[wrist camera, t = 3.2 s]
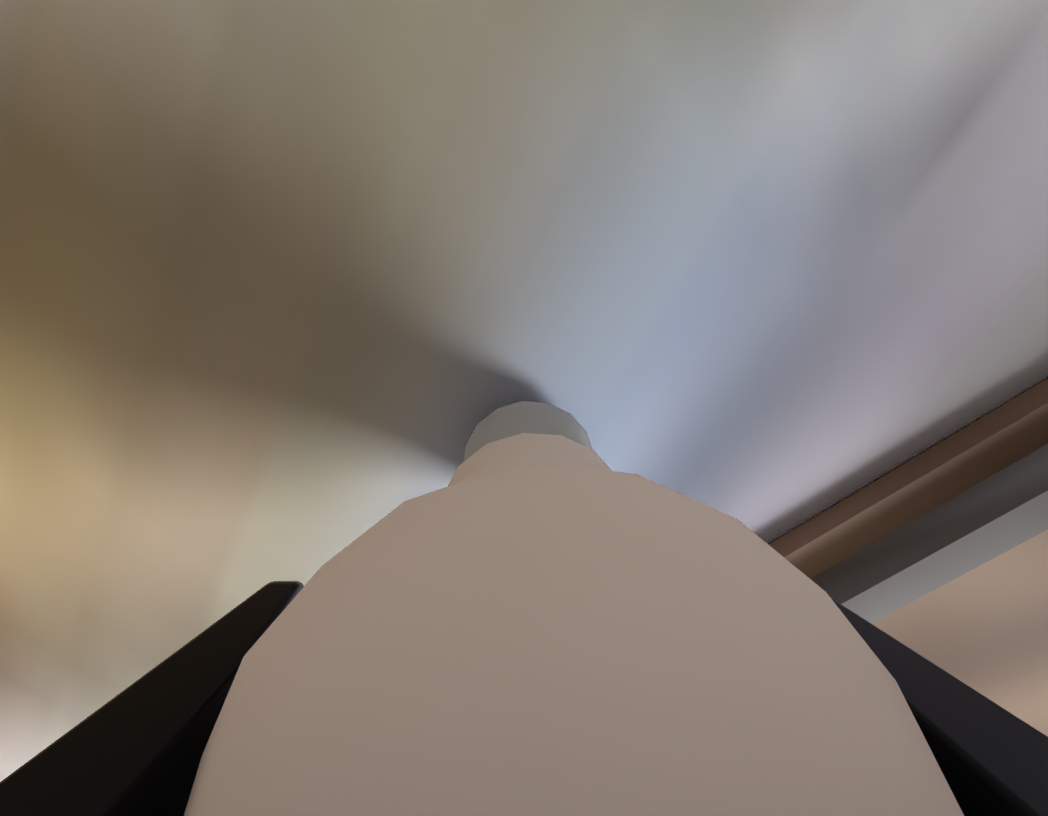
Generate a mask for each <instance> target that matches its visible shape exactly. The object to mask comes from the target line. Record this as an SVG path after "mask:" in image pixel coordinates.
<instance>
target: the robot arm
mask: <svg viewBox="0 0 1048 816" xmlns="http://www.w3.org/2000/svg"><path fill="white" fill-rule="evenodd" d="M303 587H304V586H303V584H302V583H300V582H298V581H274V582H270V583H268V584H267V585H265V586H264V587H262V588H261V589H260V590H258V591H257V592H256V593H254V594H253V595H252V596H250V597H249V598H248V599H246V600H245V601H244V602H242V603H241V604H240V605H238V606H237V607H236V608H234V609H233V610H231V611H230V612H229V613H227V614H226V615H225V616H223V617H222V618H221V619H219V620H218V621H217V622H215V623H214V624H213V625H211V626H210V627H209V628H207V629H206V630H205V631H203V632H202V633H201V634H199V635H198V636H196V637H195V638H194V639H192V640H191V641H190V642H188V643H187V644H186V645H184V646H183V647H182V648H180V649H179V650H178V651H176V652H175V653H174V654H172V655H171V656H170V657H168V658H167V659H166V660H164V661H163V662H161V663H160V664H159V665H157V666H156V667H155V668H153V669H152V670H151V671H149V672H148V673H147V674H145V675H144V676H143V677H141V678H140V679H139V680H137V681H136V682H135V683H133V684H132V685H130V686H129V687H128V688H126V689H125V690H124V691H122V692H121V693H120V694H118V695H117V696H116V697H114V698H113V699H112V700H110V701H109V702H108V703H106V704H105V705H104V706H102V707H101V708H100V709H98V710H97V711H95V712H94V713H93V714H91V715H90V716H89V717H87V718H86V719H85V720H83V721H82V722H81V723H79V724H78V725H77V726H75V727H74V728H73V729H71V730H70V731H69V732H67V733H66V734H65V735H63V736H62V737H60V738H59V739H58V740H56V741H55V742H54V743H52V744H51V745H50V746H48V747H47V748H46V749H44V750H43V751H42V752H40V753H39V754H38V755H36V756H35V757H34V758H32V759H31V760H30V761H28V762H27V763H25V764H24V765H23V766H21V767H20V768H19V769H17V770H16V771H15V772H13V773H12V774H11V775H9V776H8V777H7V778H5V779H4V780H3V781H1V782H0V816H184V813H185V810H186V806H187V803H188V800H189V796H190V793H191V790H192V786H193V783H194V780H195V777H196V773H197V770H198V767H199V763H200V760H201V757H202V754H203V752H204V750H205V747H206V745H207V742H208V740H209V738H210V735H211V733H212V731H213V728H214V726H215V723H216V721H217V719H218V716H219V714H220V712H221V709H222V707H223V704H224V702H225V700H226V697H227V695H228V692H229V690H230V688H231V685H232V683H233V681H234V678H235V676H236V673H237V671H238V669H239V666H240V664H241V661H242V659H243V657H244V655H245V654H246V653H247V652H248V651H249V650H250V648H251V647H252V646H253V645H254V644H255V643H256V642H257V640H258V639H259V638H260V637H261V636H262V635H263V633H264V632H265V631H266V630H267V629H268V628H269V627H270V625H271V624H272V623H273V622H274V621H275V620H276V618H277V617H278V616H279V615H280V614H281V613H282V612H283V610H284V609H285V608H286V607H287V606H288V605H289V603H290V602H291V601H292V600H293V599H294V598H295V597H296V595H297V594H298V593H299V592H300V591H301V590H302V588H303ZM830 598H831V597H830ZM831 599H832V598H831ZM832 600H833V602H834V603H835V604H836V605H837V607H838V608H839V609H840V610H841V612H842V613H843V614H844V616H845V617H846V618H847V619H848V621H849V622H850V623H851V624H852V626H853V627H854V628H855V630H856V631H857V632H858V633H859V635H860V636H861V637H862V638H863V640H864V641H865V642H866V643H867V645H868V646H869V647H870V649H871V650H872V651H873V652H874V654H875V655H876V656H877V657H878V659H879V660H880V661H881V663H882V664H883V665H884V666H885V668H886V669H887V670H888V671H889V673H890V674H891V675H892V677H893V678H894V679H895V680H896V682H897V684H898V686H899V688H900V690H901V692H902V694H903V696H904V698H905V700H906V702H907V704H908V706H909V708H910V710H911V712H912V713H913V715H914V717H915V719H916V721H917V723H918V725H919V727H920V729H921V731H922V733H923V735H924V737H925V739H926V741H927V743H928V745H929V747H930V749H931V751H932V753H933V755H934V757H935V759H936V761H937V763H938V765H939V767H940V769H941V771H942V773H943V775H944V777H945V779H946V781H947V783H948V785H949V787H950V789H951V791H952V793H953V795H954V797H955V799H956V801H957V803H958V805H959V807H960V809H961V811H962V813H963V815H964V816H1048V737H1047V736H1046V735H1044V734H1043V733H1041V732H1040V731H1038V730H1036V729H1035V728H1033V727H1032V726H1030V725H1029V724H1027V723H1026V722H1024V721H1022V720H1021V719H1019V718H1018V717H1016V716H1015V715H1013V714H1011V713H1010V712H1008V711H1007V710H1005V709H1004V708H1002V707H1001V706H999V705H997V704H996V703H994V702H993V701H991V700H990V699H988V698H987V697H985V696H983V695H982V694H980V693H979V692H977V691H976V690H974V689H972V688H971V687H969V686H968V685H966V684H965V683H963V682H962V681H960V680H958V679H957V678H955V677H954V676H952V675H951V674H949V673H948V672H946V671H944V670H943V669H941V668H940V667H938V666H937V665H935V664H933V663H932V662H930V661H929V660H927V659H926V658H924V657H923V656H921V655H919V654H918V653H916V652H915V651H913V650H912V649H910V648H909V647H907V646H905V645H904V644H902V643H901V642H899V641H898V640H896V639H894V638H893V637H891V636H890V635H888V634H887V633H885V632H884V631H882V630H880V629H879V628H877V627H876V626H874V625H873V624H871V623H870V622H868V621H866V620H865V619H863V618H862V617H860V616H859V615H857V614H856V613H854V612H852V611H851V610H849V609H848V608H846V607H845V606H843V605H841V604H840V603H838V602H837V601H835V600H834V599H832Z"/></svg>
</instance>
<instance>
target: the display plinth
mask: <svg viewBox="0 0 1048 816" xmlns="http://www.w3.org/2000/svg"><path fill="white" fill-rule="evenodd" d="M768 545H769V546H771V547H772V548H773V549H774V550H776V551H777V552H778V553H779V554H780V555H782V556H783V557H784V558H785V559H786V560H788V561H789V562H790V563H791V564H793V565H794V566H795V567H796V568H797V569H799V570H800V571H801V572H802V573H804V574H805V575H806V576H807V577H808V578H810V579H811V580H812V581H813V582H815V583H816V584H817V585H818V586H819V587H821V588H822V589H823V590H824V591H825V592H826V593H827V594H828V595H829V597H831V598H832V599H834V600H835V601H837V602H838V603H840V604H841V605H843V606H845V607H846V608H848V609H849V610H851V611H852V612H854V613H856V614H857V615H859V616H860V617H862V618H863V619H865V620H866V621H868V622H870V623H871V624H873V625H874V626H876V627H877V628H879V629H880V630H882V631H884V632H885V633H887V634H888V635H890V636H891V637H893V638H894V639H896V640H898V641H899V642H901V643H902V644H904V645H905V646H907V647H909V648H910V649H912V650H913V651H915V652H916V653H918V654H919V655H921V656H923V657H924V658H926V659H927V660H929V661H930V662H932V663H933V664H935V665H937V666H938V667H940V668H941V669H943V670H944V671H946V672H948V673H949V674H951V675H952V676H954V677H955V678H957V679H958V680H960V681H962V682H963V683H965V684H966V685H968V686H969V687H971V688H972V689H974V690H976V691H977V692H979V693H980V694H982V695H983V696H985V697H987V698H988V699H990V700H991V701H993V702H994V703H996V704H997V705H999V706H1001V707H1002V708H1004V709H1005V710H1007V711H1008V712H1010V713H1011V714H1013V715H1015V716H1016V717H1018V718H1019V719H1021V720H1022V721H1024V722H1026V723H1027V724H1029V725H1030V726H1032V727H1033V728H1035V729H1036V730H1038V731H1040V732H1041V733H1043V734H1044V735H1046V736H1047V737H1048V378H1047V379H1045V380H1044V381H1042V382H1040V383H1039V384H1037V385H1035V386H1034V387H1032V388H1030V389H1029V390H1027V391H1025V392H1024V393H1022V394H1020V395H1019V396H1017V397H1015V398H1014V399H1012V400H1010V401H1008V402H1007V403H1005V404H1003V405H1002V406H1000V407H998V408H997V409H995V410H993V411H992V412H990V413H988V414H987V415H985V416H983V417H982V418H980V419H978V420H977V421H975V422H973V423H972V424H970V425H968V426H967V427H965V428H963V429H962V430H960V431H958V432H956V433H955V434H953V435H951V436H950V437H948V438H946V439H945V440H943V441H941V442H940V443H938V444H936V445H935V446H933V447H931V448H930V449H928V450H926V451H925V452H923V453H921V454H920V455H918V456H916V457H915V458H913V459H911V460H909V461H908V462H906V463H904V464H903V465H901V466H899V467H898V468H896V469H894V470H893V471H891V472H889V473H888V474H886V475H884V476H883V477H881V478H879V479H878V480H876V481H874V482H873V483H871V484H869V485H868V486H866V487H864V488H862V489H861V490H859V491H857V492H856V493H854V494H852V495H851V496H849V497H847V498H846V499H844V500H842V501H841V502H839V503H837V504H836V505H834V506H832V507H831V508H829V509H827V510H826V511H824V512H822V513H821V514H819V515H817V516H815V517H814V518H812V519H810V520H809V521H807V522H805V523H804V524H802V525H800V526H799V527H797V528H795V529H794V530H792V531H790V532H789V533H787V534H785V535H784V536H782V537H780V538H779V539H777V540H775V541H774V542H772V543H770V544H768Z"/></svg>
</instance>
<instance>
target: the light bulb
mask: <svg viewBox="0 0 1048 816" xmlns="http://www.w3.org/2000/svg"><path fill="white" fill-rule="evenodd" d="M184 816H964V815H963V813H962V811H961V809H960V807H959V805H958V803H957V801H956V799H955V797H954V795H953V793H952V791H951V789H950V787H949V785H948V783H947V781H946V779H945V777H944V775H943V773H942V771H941V769H940V767H939V765H938V763H937V761H936V759H935V757H934V755H933V753H932V751H931V749H930V747H929V745H928V743H927V741H926V739H925V737H924V735H923V733H922V731H921V729H920V727H919V725H918V723H917V721H916V719H915V717H914V715H913V713H912V712H911V710H910V708H909V706H908V704H907V702H906V700H905V698H904V696H903V694H902V692H901V690H900V688H899V686H898V684H897V682H896V680H895V679H894V678H893V677H892V675H891V674H890V673H889V671H888V670H887V669H886V668H885V666H884V665H883V664H882V663H881V661H880V660H879V659H878V657H877V656H876V655H875V654H874V652H873V651H872V650H871V649H870V647H869V646H868V645H867V643H866V642H865V641H864V640H863V638H862V637H861V636H860V635H859V633H858V632H857V631H856V630H855V628H854V627H853V626H852V624H851V623H850V622H849V621H848V619H847V618H846V617H845V616H844V614H843V613H842V612H841V610H840V609H839V608H838V607H837V605H836V604H835V603H834V602H833V600H832V599H831V598H830V597H829V595H828V594H827V593H826V592H825V591H824V590H823V589H822V588H821V587H819V586H818V585H817V584H816V583H815V582H813V581H812V580H811V579H810V578H808V577H807V576H806V575H805V574H804V573H802V572H801V571H800V570H799V569H797V568H796V567H795V566H794V565H793V564H791V563H790V562H789V561H788V560H786V559H785V558H784V557H783V556H782V555H780V554H779V553H778V552H777V551H776V550H774V549H773V548H772V547H771V546H769V545H768V544H767V543H766V542H765V541H763V540H762V539H761V538H760V537H758V536H757V535H756V534H755V533H754V532H752V531H751V530H750V529H749V528H747V527H746V526H745V525H744V524H743V523H741V522H740V521H739V520H738V519H736V518H734V517H731V516H729V515H727V514H725V513H722V512H720V511H718V510H716V509H713V508H711V507H709V506H707V505H704V504H702V503H700V502H698V501H696V500H693V499H691V498H689V497H687V496H684V495H682V494H680V493H678V492H675V491H673V490H671V489H669V488H666V487H664V486H662V485H660V484H657V483H655V482H653V481H651V480H648V479H646V478H644V477H642V476H639V475H637V474H630V473H623V472H615V471H612V470H611V469H610V468H609V467H608V466H607V465H606V463H605V462H604V461H603V460H602V459H601V458H600V457H599V456H598V455H597V453H596V452H595V451H594V450H592V448H591V445H590V442H589V438H588V435H587V432H586V431H585V430H584V429H583V427H582V426H581V425H580V424H579V423H578V422H577V421H576V420H575V418H574V417H573V416H572V415H571V414H570V413H568V412H566V411H564V410H561V409H559V408H557V407H555V406H553V405H551V404H549V403H543V402H528V401H520V402H517V403H513V404H510V405H507V406H504V407H500V408H497V409H496V410H494V411H493V412H492V413H491V414H489V415H488V416H487V417H486V418H484V419H483V420H482V421H481V422H479V423H478V424H477V425H476V427H475V429H474V431H473V433H472V434H471V436H470V438H469V440H468V442H467V444H466V446H465V453H464V460H463V463H462V464H460V465H459V466H458V468H457V470H456V472H455V474H454V476H453V477H452V479H451V481H450V483H449V485H448V487H446V488H443V489H440V490H437V491H434V492H431V493H428V494H425V495H422V496H419V497H416V498H413V499H410V500H407V501H405V502H403V503H402V504H401V505H399V506H398V507H397V508H396V509H394V510H393V511H392V512H391V513H389V514H388V515H387V516H385V517H384V518H383V519H382V520H380V521H379V522H378V523H376V524H375V525H374V526H373V527H371V528H370V529H369V530H367V531H366V532H365V533H364V534H362V535H361V536H360V537H359V538H357V539H356V540H355V541H353V542H352V543H351V544H350V545H348V546H347V547H346V548H344V549H343V550H342V551H341V552H339V553H338V554H337V555H335V556H334V557H333V558H332V559H330V560H329V561H328V562H327V563H325V564H324V565H323V566H322V567H321V568H320V569H319V570H318V571H317V572H316V573H315V575H314V576H313V577H312V578H311V579H310V580H309V582H308V583H307V584H306V585H305V586H304V587H303V588H302V590H301V591H300V592H299V593H298V594H297V595H296V597H295V598H294V599H293V600H292V601H291V602H290V603H289V605H288V606H287V607H286V608H285V609H284V610H283V612H282V613H281V614H280V615H279V616H278V617H277V618H276V620H275V621H274V622H273V623H272V624H271V625H270V627H269V628H268V629H267V630H266V631H265V632H264V633H263V635H262V636H261V637H260V638H259V639H258V640H257V642H256V643H255V644H254V645H253V646H252V647H251V648H250V650H249V651H248V652H247V653H246V654H245V655H244V657H243V659H242V661H241V664H240V666H239V669H238V671H237V673H236V676H235V678H234V681H233V683H232V685H231V688H230V690H229V692H228V695H227V697H226V700H225V702H224V704H223V707H222V709H221V712H220V714H219V716H218V719H217V721H216V723H215V726H214V728H213V731H212V733H211V735H210V738H209V740H208V742H207V745H206V747H205V750H204V752H203V754H202V757H201V760H200V763H199V767H198V770H197V773H196V777H195V780H194V783H193V786H192V790H191V793H190V796H189V800H188V803H187V806H186V810H185V813H184Z"/></svg>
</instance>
